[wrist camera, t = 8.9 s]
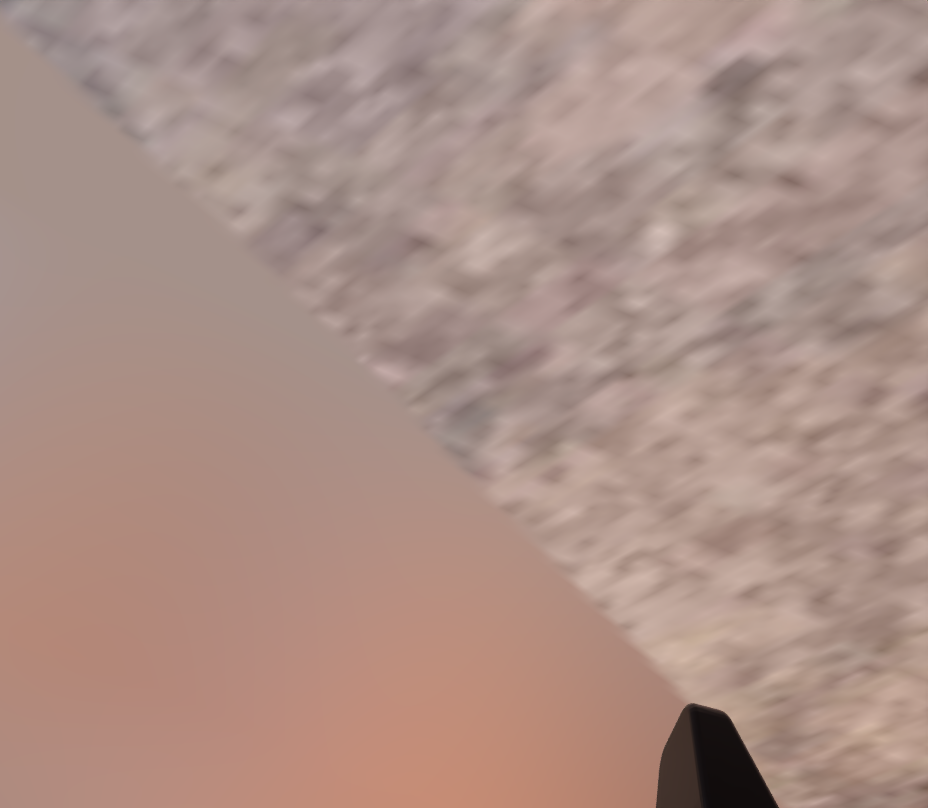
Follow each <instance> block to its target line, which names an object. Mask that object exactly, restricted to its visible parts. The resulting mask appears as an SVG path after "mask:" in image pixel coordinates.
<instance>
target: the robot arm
mask: <svg viewBox="0 0 928 808" xmlns="http://www.w3.org/2000/svg"><path fill="white" fill-rule="evenodd" d="M656 808H779V807H778V805H777V803H776V801H775V800H774V798H773V796H772V794H771V792H770V790H769V789H768V787H767V785H766V783H765V781H764V779H763V778H762V776H761V774H760V772H759V770H758V768H757V767H756V765H755V763H754V761H753V759H752V757H751V756H750V754H749V752H748V750H747V748H746V746H745V745H744V743H743V741H742V739H741V737H740V735H739V734H738V732H737V730H736V728H735V726H734V724H733V723H732V721H731V719H730V717H729V716H728V715H727V714H726V713H724V712H723V711H721V710H718V709H714V708H710V707H706V706H702V705H698V704H694V703H690V704H688V705H687V706H686V707H685V708H684V709H683V711H682V712H681V714H680V717H679V719H678V721H677V723H676V725H675V727H674V729H673V731H672V733H671V735H670V737H669V739H668V741H667V743H666V745H665V747H664V750H663V753H662V757H661V762H660V768H659V780H658V791H657V802H656Z"/></svg>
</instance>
